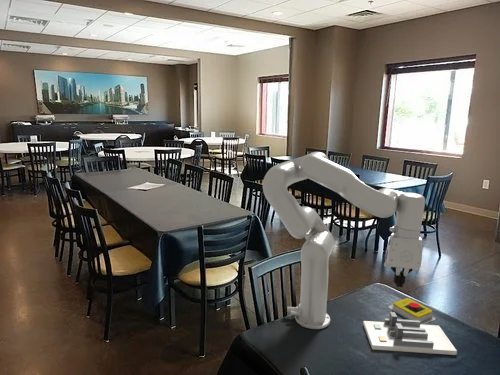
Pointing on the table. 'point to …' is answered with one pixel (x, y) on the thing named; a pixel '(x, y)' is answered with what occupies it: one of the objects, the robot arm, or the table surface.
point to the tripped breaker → (398, 331)
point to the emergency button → (413, 311)
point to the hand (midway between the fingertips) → (398, 285)
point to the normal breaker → (392, 319)
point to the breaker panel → (409, 337)
